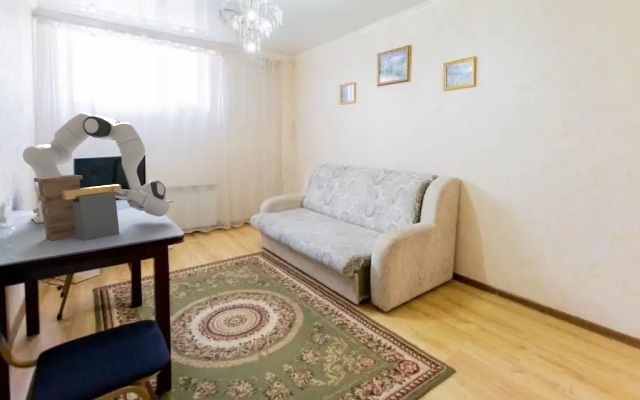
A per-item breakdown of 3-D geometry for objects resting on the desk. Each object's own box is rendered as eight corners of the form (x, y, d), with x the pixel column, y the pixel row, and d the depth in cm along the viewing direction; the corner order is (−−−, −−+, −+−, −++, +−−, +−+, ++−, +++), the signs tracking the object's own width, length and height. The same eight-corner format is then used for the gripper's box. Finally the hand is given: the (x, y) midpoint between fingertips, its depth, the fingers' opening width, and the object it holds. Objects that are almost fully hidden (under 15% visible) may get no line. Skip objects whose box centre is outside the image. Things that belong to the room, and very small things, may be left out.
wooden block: (66, 199, 141) (65, 191, 140) (62, 198, 143) (61, 190, 142) (121, 192, 159) (120, 184, 158) (117, 191, 161) (116, 184, 160)
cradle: (76, 237, 150) (70, 195, 147) (110, 230, 162) (105, 190, 159) (85, 240, 146) (79, 197, 143) (119, 233, 158) (115, 192, 154)
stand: (42, 238, 149) (33, 177, 144) (81, 231, 161) (74, 174, 156) (49, 241, 145) (41, 179, 140) (89, 233, 157) (82, 175, 153)
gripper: (128, 191, 174) (101, 180, 163) (152, 195, 163) (125, 183, 152) (123, 203, 172) (95, 192, 161) (147, 208, 161) (119, 197, 150)
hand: (110, 188), depth 156 cm, fingers closed on wooden block, 3 cm apart
